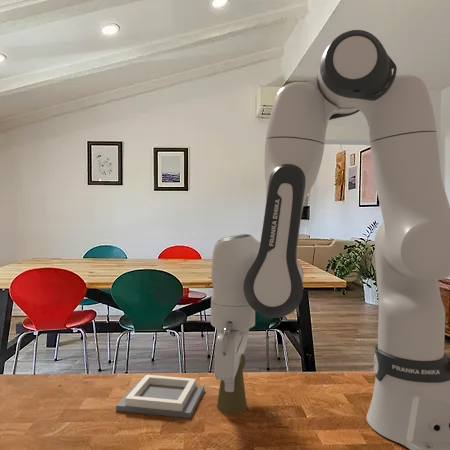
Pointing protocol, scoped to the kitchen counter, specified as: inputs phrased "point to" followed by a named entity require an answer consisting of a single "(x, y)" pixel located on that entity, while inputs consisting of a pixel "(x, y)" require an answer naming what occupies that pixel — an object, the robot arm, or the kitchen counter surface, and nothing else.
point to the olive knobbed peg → (233, 394)
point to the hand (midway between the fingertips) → (232, 383)
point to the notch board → (162, 396)
